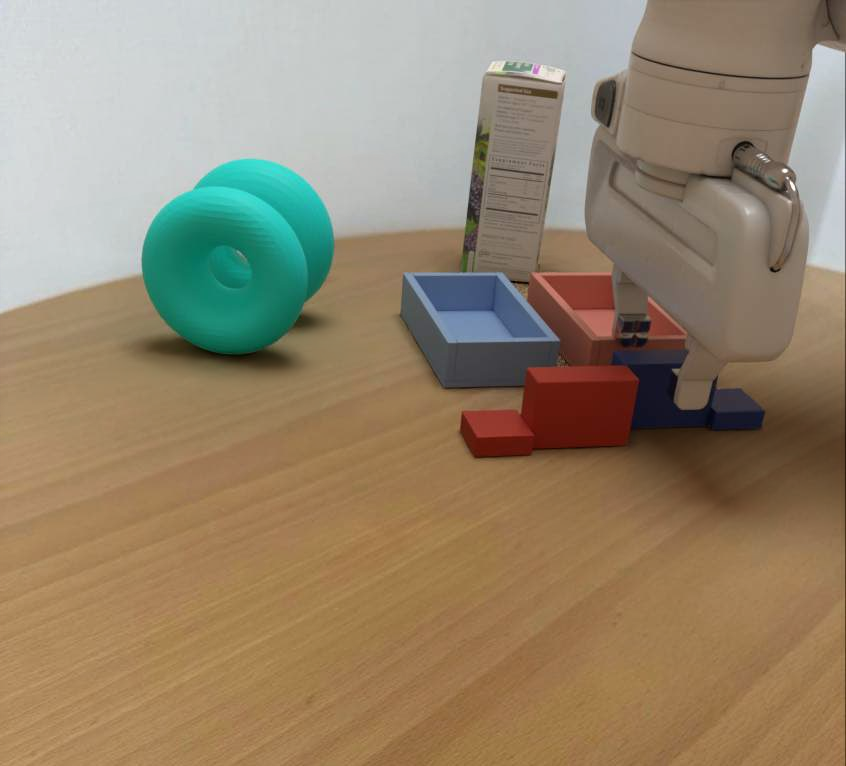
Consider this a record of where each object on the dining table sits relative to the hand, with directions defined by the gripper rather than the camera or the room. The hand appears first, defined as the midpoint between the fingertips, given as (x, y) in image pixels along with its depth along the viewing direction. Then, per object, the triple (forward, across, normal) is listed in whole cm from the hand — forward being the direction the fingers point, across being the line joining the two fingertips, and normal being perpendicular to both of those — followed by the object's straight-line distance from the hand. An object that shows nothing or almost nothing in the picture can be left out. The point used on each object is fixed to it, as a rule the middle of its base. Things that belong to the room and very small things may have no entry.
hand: (655, 372), depth 66 cm
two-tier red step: (+3, -3, +7) cm, 8 cm away
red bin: (+3, +11, -1) cm, 11 cm away
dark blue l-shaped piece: (+3, 0, -2) cm, 3 cm away
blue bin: (+3, +11, +8) cm, 13 cm away
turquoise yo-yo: (+3, +14, +22) cm, 26 cm away
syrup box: (+3, +26, +1) cm, 26 cm away
